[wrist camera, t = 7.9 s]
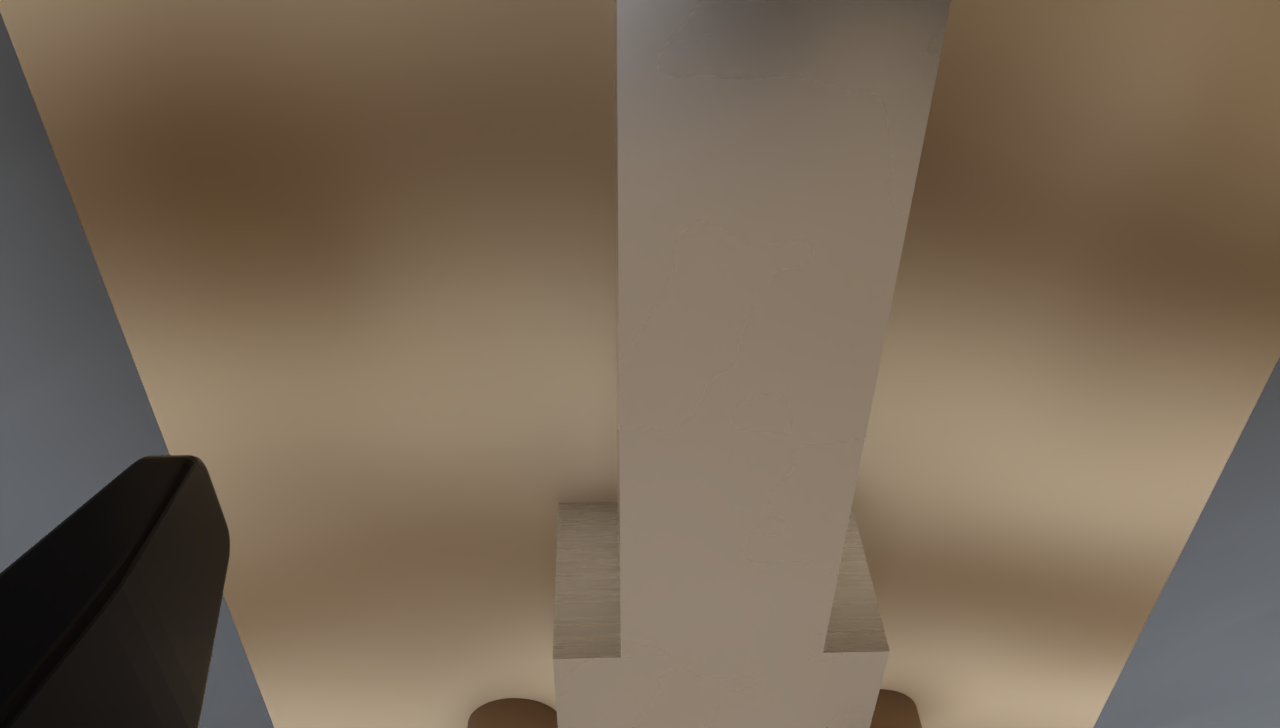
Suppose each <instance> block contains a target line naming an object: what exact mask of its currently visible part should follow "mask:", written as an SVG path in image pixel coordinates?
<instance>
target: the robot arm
mask: <svg viewBox="0 0 1280 728" xmlns="http://www.w3.org/2000/svg"><path fill="white" fill-rule="evenodd" d="M229 556H230V536H229V529H228V526H227V523H226V520H225V517H224V514H223V511H222V509H221V506H220V503H219V500H218V497H217V495H216V492H215V489H214V486H213V483H212V480H211V478H210V475H209V472H208V470H207V468H206V466H205V464H204V462H203V461H202V460H201V459H200V458H198V457H196V456H192V455H161V456H147V457H143V458H141V459H139V460H138V461H136V462H135V463H133V464H132V465H131V466H129V467H128V468H127V469H126V470H125V471H123V472H122V473H121V474H120V475H118V476H117V477H116V478H115V479H114V480H112V481H111V482H110V483H109V484H108V485H106V486H105V487H104V488H103V489H102V490H100V491H99V492H98V493H97V494H96V495H94V496H93V497H92V498H91V499H90V500H88V501H87V502H86V503H85V504H83V505H82V506H81V507H80V508H79V509H77V510H76V511H75V512H74V513H73V514H71V515H70V516H69V517H68V518H67V519H65V520H64V521H63V522H62V523H61V524H59V525H58V526H57V527H56V528H54V529H53V530H52V531H51V532H50V533H48V534H47V535H46V536H45V537H44V538H42V539H41V540H40V541H39V542H38V543H36V544H35V545H34V546H33V547H32V548H30V549H29V550H28V551H27V552H26V553H24V554H23V555H22V556H21V557H19V558H18V559H17V560H16V561H15V562H13V563H12V564H11V565H10V566H9V567H7V568H6V569H5V570H4V571H3V572H1V573H0V728H198V725H199V720H200V715H201V710H202V705H203V699H204V694H205V688H206V683H207V677H208V672H209V667H210V661H211V656H212V650H213V645H214V639H215V634H216V628H217V623H218V617H219V612H220V606H221V601H222V595H223V590H224V584H225V579H226V573H227V568H228V562H229Z"/></svg>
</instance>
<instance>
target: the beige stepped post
mask: <svg viewBox="0 0 1280 728" xmlns="http://www.w3.org/2000/svg"><path fill="white" fill-rule="evenodd" d="M950 4H951V0H613V26H614V151H615V276H616V402H617V502H593V503H559V505H558V531H557V558H556V585H555V611H554V638H553V670H554V683H555V697H556V710H557V723H558V728H870V725H871V721H872V717H873V713H874V710H875V706H876V702H877V698H878V694H879V691H880V687H881V683H882V679H883V675H884V672H885V668H886V664H887V660H888V656H889V653H890V650H889V646H888V642H887V638H886V634H885V631H884V627H883V623H882V619H881V615H880V611H879V607H878V603H877V600H876V596H875V592H874V588H873V584H872V580H871V576H870V572H869V568H868V565H867V561H866V557H865V553H864V549H863V545H862V541H861V537H860V534H859V530H858V526H857V522H856V518H855V514H854V510H853V506H852V503H853V498H854V492H855V487H856V482H857V477H858V472H859V467H860V462H861V457H862V452H863V447H864V442H865V437H866V431H867V426H868V421H869V416H870V411H871V406H872V401H873V396H874V391H875V386H876V381H877V376H878V370H879V365H880V360H881V355H882V350H883V345H884V340H885V335H886V330H887V325H888V320H889V315H890V309H891V304H892V299H893V294H894V289H895V284H896V279H897V274H898V269H899V264H900V259H901V254H902V248H903V243H904V238H905V233H906V228H907V223H908V218H909V213H910V208H911V203H912V198H913V193H914V187H915V182H916V177H917V172H918V167H919V162H920V157H921V152H922V147H923V142H924V137H925V132H926V126H927V121H928V116H929V111H930V106H931V101H932V96H933V91H934V86H935V81H936V76H937V71H938V65H939V60H940V55H941V50H942V45H943V40H944V35H945V30H946V25H947V20H948V15H949V10H950Z"/></svg>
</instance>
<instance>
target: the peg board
mask: <svg viewBox="0 0 1280 728" xmlns="http://www.w3.org/2000/svg"><path fill="white" fill-rule="evenodd" d="M0 12H1V15H2V18H3V20H4V23H5V26H6V28H7V31H8V33H9V36H10V39H11V41H12V44H13V46H14V49H15V52H16V54H17V57H18V59H19V62H20V65H21V67H22V70H23V73H24V75H25V78H26V80H27V83H28V86H29V88H30V91H31V93H32V96H33V99H34V101H35V104H36V106H37V109H38V112H39V114H40V117H41V120H42V122H43V125H44V127H45V130H46V133H47V135H48V138H49V140H50V143H51V146H52V148H53V151H54V153H55V156H56V159H57V161H58V164H59V167H60V169H61V172H62V174H63V177H64V180H65V182H66V185H67V187H68V190H69V193H70V195H71V198H72V200H73V203H74V206H75V208H76V211H77V214H78V216H79V219H80V221H81V224H82V227H83V229H84V232H85V234H86V237H87V240H88V242H89V245H90V247H91V250H92V253H93V255H94V258H95V261H96V263H97V266H98V268H99V271H100V274H101V276H102V279H103V281H104V284H105V287H106V289H107V292H108V294H109V297H110V300H111V302H112V305H113V308H114V310H115V313H116V315H117V318H118V321H119V323H120V326H121V328H122V331H123V334H124V336H125V339H126V341H127V344H128V347H129V349H130V352H131V355H132V357H133V360H134V362H135V365H136V368H137V370H138V373H139V375H140V378H141V381H142V383H143V386H144V388H145V391H146V394H147V396H148V399H149V402H150V404H151V407H152V409H153V412H154V415H155V417H156V420H157V422H158V425H159V428H160V430H161V433H162V435H163V438H164V441H165V443H166V446H167V449H168V451H169V454H170V455H192V456H196V457H198V458H200V459H201V460H202V461H203V462H204V464H205V466H206V468H207V470H208V472H209V475H210V478H211V480H212V483H213V486H214V489H215V492H216V495H217V497H218V500H219V503H220V506H221V509H222V511H223V514H224V517H225V520H226V523H227V526H228V529H229V536H230V556H229V562H228V568H227V573H226V579H225V584H224V590H223V595H224V597H225V600H226V603H227V605H228V608H229V610H230V613H231V616H232V618H233V621H234V623H235V626H236V629H237V631H238V634H239V637H240V639H241V642H242V644H243V647H244V650H245V652H246V655H247V657H248V660H249V663H250V665H251V668H252V670H253V673H254V676H255V678H256V681H257V684H258V686H259V689H260V691H261V694H262V697H263V699H264V702H265V704H266V707H267V710H268V712H269V715H270V717H271V720H272V723H273V725H274V728H558V723H557V710H556V697H555V683H554V670H553V638H554V611H555V585H556V558H557V531H558V505H559V503H593V502H617V402H616V276H615V151H614V26H613V0H0ZM1279 357H1280V0H951V4H950V10H949V15H948V20H947V25H946V30H945V35H944V40H943V45H942V50H941V55H940V60H939V65H938V71H937V76H936V81H935V86H934V91H933V96H932V101H931V106H930V111H929V116H928V121H927V126H926V132H925V137H924V142H923V147H922V152H921V157H920V162H919V167H918V172H917V177H916V182H915V187H914V193H913V198H912V203H911V208H910V213H909V218H908V223H907V228H906V233H905V238H904V243H903V248H902V254H901V259H900V264H899V269H898V274H897V279H896V284H895V289H894V294H893V299H892V304H891V309H890V315H889V320H888V325H887V330H886V335H885V340H884V345H883V350H882V355H881V360H880V365H879V370H878V376H877V381H876V386H875V391H874V396H873V401H872V406H871V411H870V416H869V421H868V426H867V431H866V437H865V442H864V447H863V452H862V457H861V462H860V467H859V472H858V477H857V482H856V487H855V492H854V498H853V503H852V506H853V510H854V514H855V518H856V522H857V526H858V530H859V534H860V537H861V541H862V545H863V549H864V553H865V557H866V561H867V565H868V568H869V572H870V576H871V580H872V584H873V588H874V592H875V596H876V600H877V603H878V607H879V611H880V615H881V619H882V623H883V627H884V631H885V634H886V638H887V642H888V646H889V650H890V653H889V656H888V660H887V664H886V668H885V672H884V675H883V679H882V683H881V687H880V691H879V694H878V698H877V702H876V706H875V710H874V713H873V717H872V721H871V725H870V728H1093V727H1094V725H1095V723H1096V721H1097V719H1098V717H1099V715H1100V713H1101V711H1102V709H1103V707H1104V705H1105V703H1106V701H1107V699H1108V697H1109V695H1110V693H1111V691H1112V689H1113V687H1114V685H1115V683H1116V681H1117V679H1118V677H1119V675H1120V673H1121V671H1122V669H1123V667H1124V665H1125V663H1126V661H1127V659H1128V657H1129V655H1130V653H1131V651H1132V649H1133V647H1134V645H1135V643H1136V641H1137V639H1138V637H1139V635H1140V633H1141V631H1142V629H1143V627H1144V625H1145V623H1146V621H1147V619H1148V617H1149V615H1150V613H1151V612H1152V610H1153V608H1154V606H1155V604H1156V602H1157V600H1158V598H1159V596H1160V594H1161V592H1162V590H1163V588H1164V586H1165V584H1166V582H1167V580H1168V578H1169V576H1170V574H1171V572H1172V570H1173V568H1174V566H1175V564H1176V562H1177V560H1178V558H1179V556H1180V554H1181V552H1182V550H1183V548H1184V546H1185V544H1186V542H1187V540H1188V538H1189V536H1190V534H1191V532H1192V530H1193V528H1194V526H1195V524H1196V522H1197V520H1198V518H1199V516H1200V514H1201V512H1202V510H1203V508H1204V506H1205V504H1206V502H1207V500H1208V498H1209V496H1210V494H1211V492H1212V490H1213V488H1214V486H1215V484H1216V482H1217V480H1218V478H1219V476H1220V474H1221V472H1222V470H1223V468H1224V466H1225V464H1226V462H1227V460H1228V458H1229V456H1230V454H1231V452H1232V450H1233V449H1234V447H1235V445H1236V443H1237V441H1238V439H1239V437H1240V435H1241V433H1242V431H1243V429H1244V427H1245V425H1246V423H1247V421H1248V419H1249V417H1250V415H1251V413H1252V411H1253V409H1254V407H1255V405H1256V403H1257V401H1258V399H1259V397H1260V395H1261V393H1262V391H1263V389H1264V387H1265V385H1266V383H1267V381H1268V379H1269V377H1270V375H1271V373H1272V371H1273V369H1274V367H1275V365H1276V363H1277V361H1278V359H1279Z"/></svg>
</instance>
